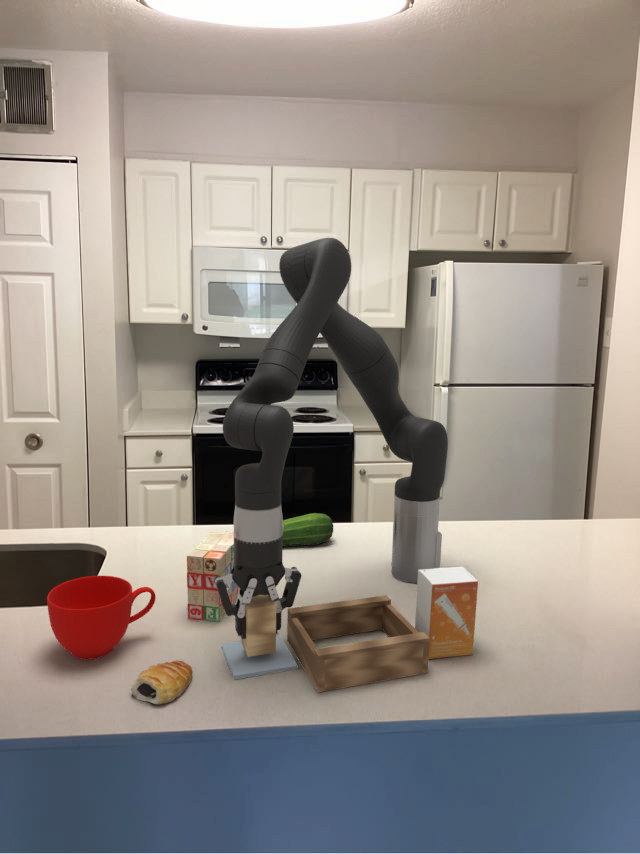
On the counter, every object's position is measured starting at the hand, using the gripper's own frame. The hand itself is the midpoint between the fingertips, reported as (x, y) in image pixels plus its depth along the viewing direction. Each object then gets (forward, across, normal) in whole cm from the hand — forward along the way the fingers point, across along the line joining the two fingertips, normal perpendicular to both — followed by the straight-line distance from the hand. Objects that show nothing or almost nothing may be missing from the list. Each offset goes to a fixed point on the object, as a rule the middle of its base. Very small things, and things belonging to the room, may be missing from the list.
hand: (258, 633), depth 109 cm
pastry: (+5, +16, +4) cm, 17 cm away
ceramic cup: (+4, +23, -11) cm, 26 cm away
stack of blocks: (+5, +1, -24) cm, 25 cm away
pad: (+4, 0, 0) cm, 4 cm away
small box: (+4, -30, +6) cm, 31 cm away
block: (+2, 0, 0) cm, 2 cm away
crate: (+4, -15, +4) cm, 16 cm away
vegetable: (+5, -19, -47) cm, 51 cm away
